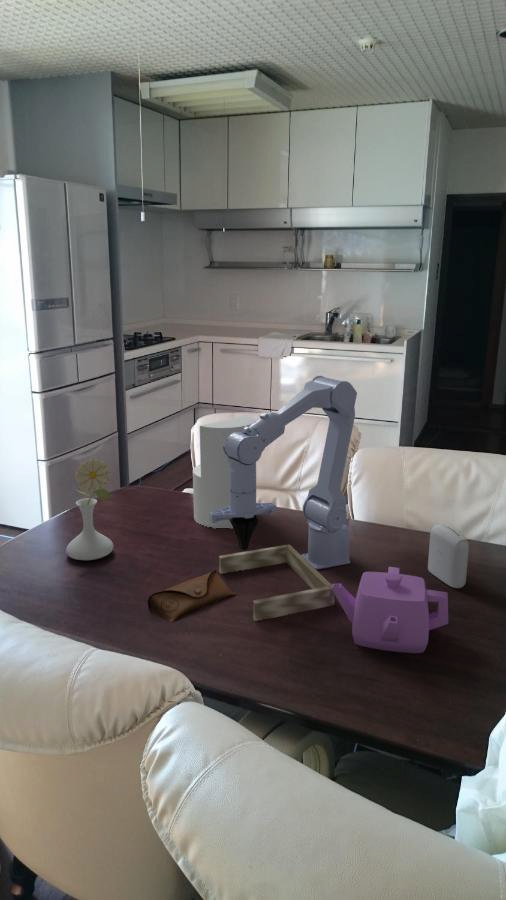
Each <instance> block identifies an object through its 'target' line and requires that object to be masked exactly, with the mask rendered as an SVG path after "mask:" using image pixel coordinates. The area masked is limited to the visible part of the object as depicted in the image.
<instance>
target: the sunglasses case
mask: <svg viewBox="0 0 506 900" xmlns="http://www.w3.org/2000/svg"><path fill="white" fill-rule="evenodd" d="M233 595H234V596H235V595H237V593H236V592H235V591H234V592H233V591H232V589H231V588H230V587H229V586H228V585H227V584H226V582H225V580H223V579H222V578H221V576H220V575H219V574H218V572H217V570H216V569H215V570H212V571H210V572H209V573H206V574H203V575H200V576H197V577H194V578H192V579H188V580H186V581H183V582H181V583H178V584H176V585H173V586H171V587H168V588H166V589H164V590H160V591H156V592H154V593H151V594H150V595H149V597H148V598H147V599H148V600H147V606H148V609H150V610H151V611H153V612H154V613H156V614H157V615H159V616H161V617H162V618H163V619H165V620H167V621H169V622H170V623H174V622H175V621H178V620H179V619H181V618H183V617H184V616H185V617H186V616H187V615H189V614H191V613H193V612H196V611H198V610H200V609H199V608H201V609H203V608H205V607H207V605H208V606H210V605H212V604H214V602H215V603H217V602H216V601H218V602H219V600H220V601H222V600H225V599H228V598H230V596H232V597H233ZM227 597H228V598H227ZM224 598H225V599H224ZM221 599H222V600H221ZM209 604H210V605H209ZM204 606H205V607H204ZM202 607H203V608H202ZM197 609H198V610H197ZM195 610H196V611H195Z"/></svg>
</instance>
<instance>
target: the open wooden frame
mask: <svg viewBox="0 0 506 900" xmlns="http://www.w3.org/2000/svg"><path fill="white" fill-rule="evenodd" d="M301 555H302V554H300V553H299V552H298V551H297V550H296V549H295V548H294V547H293V546H292V545H291V544H282V545H278V546H276V545H275V546H272V547H266V548H265V547H264V548H258V549H253V550H248V551H241V552H240V551H239V552H235V553H228V554H224V555H223V554H222V555H219V556H218V571H219V574H221V575H222V574H223V575H224V574H229V572H230V573H235V572H239V570H241V571H246V569H247V570H253V569H256V568H262V567H263V568H264V567H269V566H274V565H280V564H285V563H286V564H287V565H289V567H290V568H291V569H292V570H293V571H294V572H295V573H296V574H297V575H298V576H299V577H300V578H301V579H302V580H303V581H304V582H305V583H306V584H307V586H308V587H310V588H311V589H306V590H302V591H296V592H291V593H285V594H281V595H275V596H271V597H270V596H269V597H265V598H259V599H256V600H252V601H253V602H252V603H253V604H252V605H253V606H252V615H253V617H252V619H253V620H254V622H258V621H259V620H260V621H263V619H265V620H269V619H274V618H278V617H283V616H289V615H294V614H298V612H299V613H301V612H308V611H313V610H318V609H323V608H327V607H332V606H335V597H336V595H335V594H334V592H333V590H332V583H330V582H329V581H328V579H326V577H324V576H323V575H322V574H321V573H320V572H319V571H318V569H317V570H316V569H315V568H314V567H312V566H311V565H310V564H309V563H308V562H307V561H306V560H305V559H304V558H303V557H302V556H301ZM234 571H235V572H234ZM293 613H294V614H293ZM288 614H289V615H288Z"/></svg>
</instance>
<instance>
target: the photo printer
mask: <svg viewBox="0 0 506 900" xmlns="http://www.w3.org/2000/svg"><path fill="white" fill-rule="evenodd" d="M429 536H430V537H429V546H428V547H429V549H428V558H427V559H428V561H427V570H428V572H429V573H431V575H433V576H435V577H436V578H438V580H440V581H441V582H443V583H444V584H446V585H447V586H449V587H451V588H453V589H461V588H463V587H464V586H465V585H466V583H467V582H466V581H467V571H468V563H469V562H468V561H469V551H470V550H469V548H470V543H469V541H468V539H467V538H466V537H465V535H464V534H462V532H460V531H459V530H457V528H455V527H452V526H451V525H449V524H444V523H439V524H435V525H433V526H432V528H431V530H430V535H429Z"/></svg>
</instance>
